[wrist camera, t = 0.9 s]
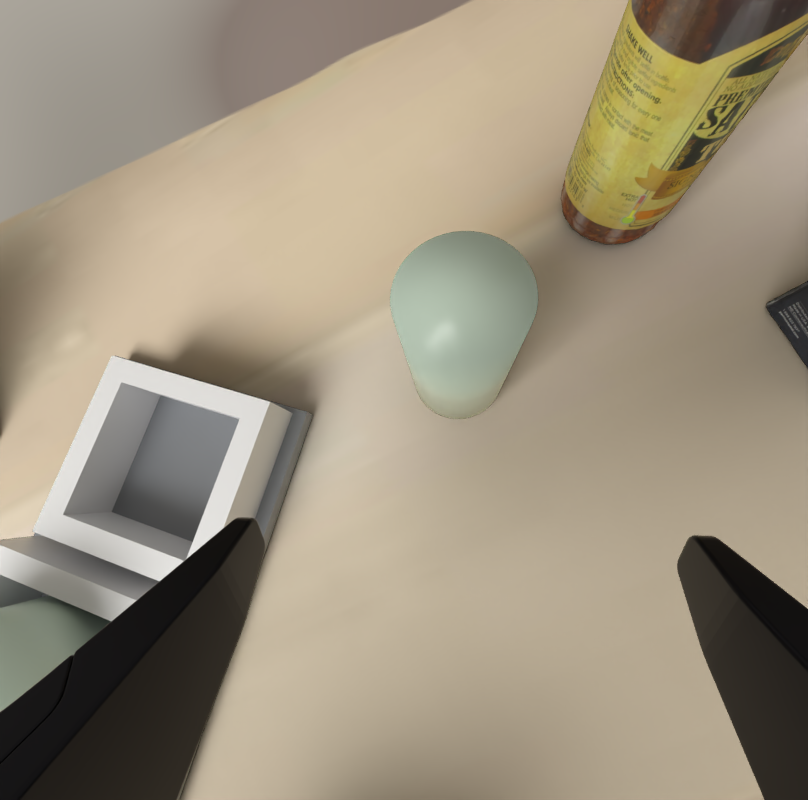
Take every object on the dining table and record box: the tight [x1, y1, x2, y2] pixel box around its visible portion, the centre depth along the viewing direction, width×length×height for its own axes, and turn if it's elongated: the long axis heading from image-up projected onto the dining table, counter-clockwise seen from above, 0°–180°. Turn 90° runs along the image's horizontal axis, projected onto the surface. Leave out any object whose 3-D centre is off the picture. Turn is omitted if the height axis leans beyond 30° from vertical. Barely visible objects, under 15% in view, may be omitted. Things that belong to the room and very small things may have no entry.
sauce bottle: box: [561, 0, 808, 244], centre depth 15 cm, size 7×6×20 cm
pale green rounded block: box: [390, 231, 538, 419], centre depth 19 cm, size 5×5×10 cm
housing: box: [0, 356, 313, 800], centre depth 19 cm, size 21×13×8 cm, turn 163°
